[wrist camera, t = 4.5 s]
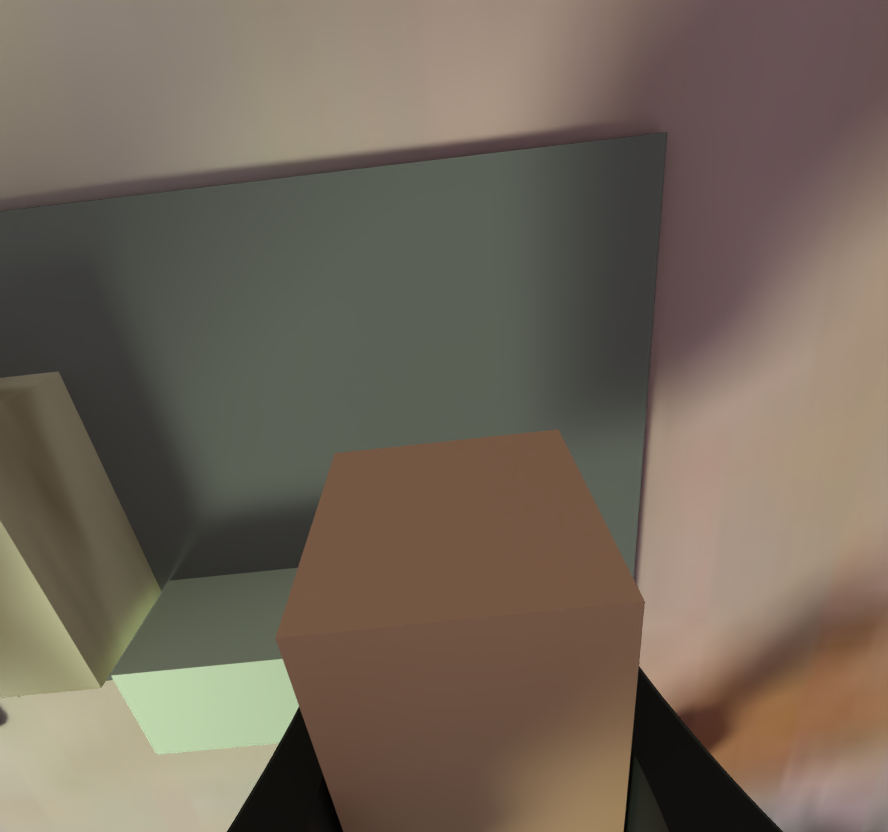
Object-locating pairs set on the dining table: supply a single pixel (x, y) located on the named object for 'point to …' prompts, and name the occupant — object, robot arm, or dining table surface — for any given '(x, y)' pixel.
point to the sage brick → (211, 664)
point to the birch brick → (61, 548)
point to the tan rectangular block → (466, 641)
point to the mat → (341, 332)
